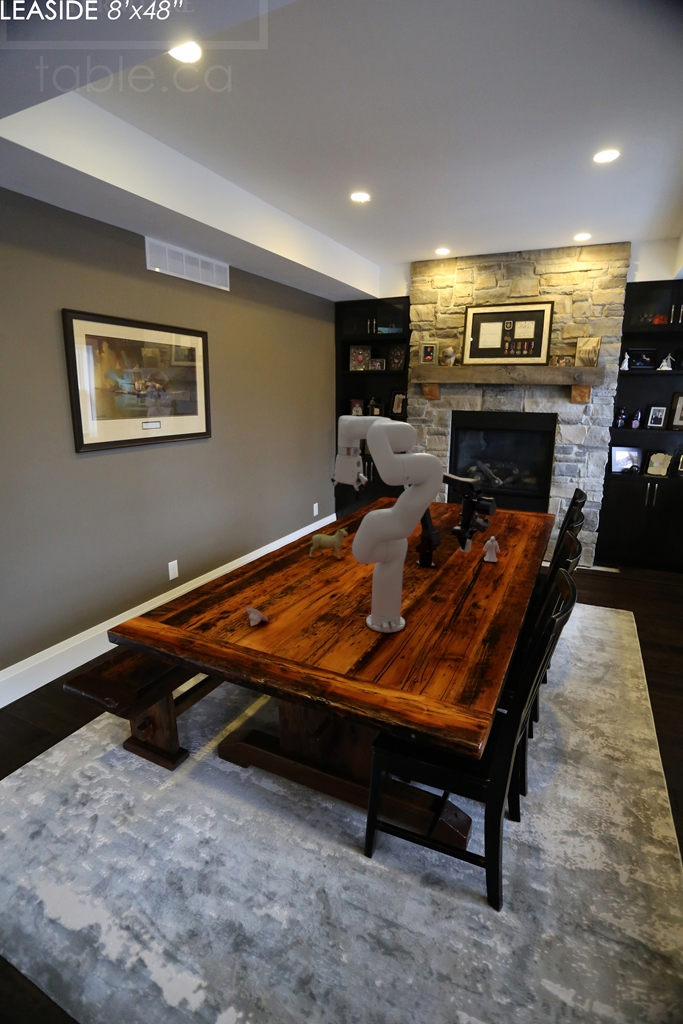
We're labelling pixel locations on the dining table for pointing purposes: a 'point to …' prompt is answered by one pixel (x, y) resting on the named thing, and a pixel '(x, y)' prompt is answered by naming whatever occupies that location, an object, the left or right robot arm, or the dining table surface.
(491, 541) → the figurine
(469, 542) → the canister
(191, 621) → the dining table surface
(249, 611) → the seashell
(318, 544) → the toy
